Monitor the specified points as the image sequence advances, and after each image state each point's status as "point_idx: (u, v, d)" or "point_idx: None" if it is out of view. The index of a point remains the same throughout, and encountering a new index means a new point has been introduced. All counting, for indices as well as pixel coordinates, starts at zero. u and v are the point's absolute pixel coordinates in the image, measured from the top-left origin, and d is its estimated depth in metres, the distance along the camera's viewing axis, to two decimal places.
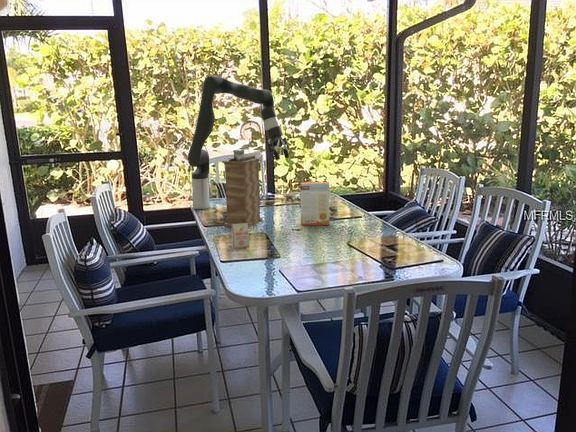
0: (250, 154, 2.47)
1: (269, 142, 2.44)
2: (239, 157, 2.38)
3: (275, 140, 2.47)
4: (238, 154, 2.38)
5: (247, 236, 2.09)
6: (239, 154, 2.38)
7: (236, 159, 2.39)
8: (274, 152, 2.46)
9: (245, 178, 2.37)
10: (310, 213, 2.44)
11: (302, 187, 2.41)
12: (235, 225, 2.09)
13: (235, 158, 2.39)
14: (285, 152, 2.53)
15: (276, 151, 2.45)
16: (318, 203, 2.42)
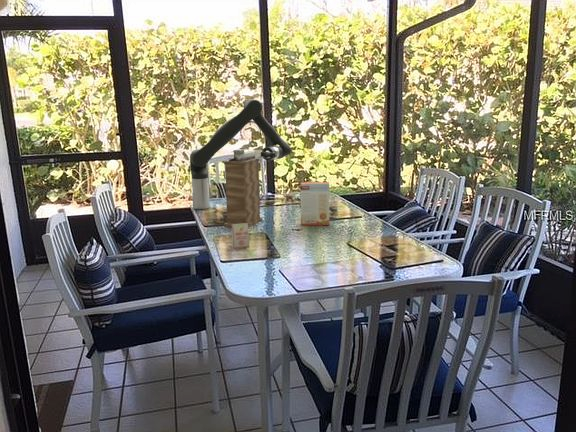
0: (250, 154, 2.47)
1: (276, 154, 2.74)
2: (239, 157, 2.38)
3: None
4: (238, 154, 2.38)
5: (247, 236, 2.09)
6: (239, 154, 2.38)
7: (236, 159, 2.39)
8: (269, 155, 2.70)
9: (245, 178, 2.37)
10: (310, 213, 2.44)
11: (302, 187, 2.41)
12: (235, 225, 2.09)
13: (235, 158, 2.39)
14: None
15: (269, 157, 2.70)
16: (318, 203, 2.42)
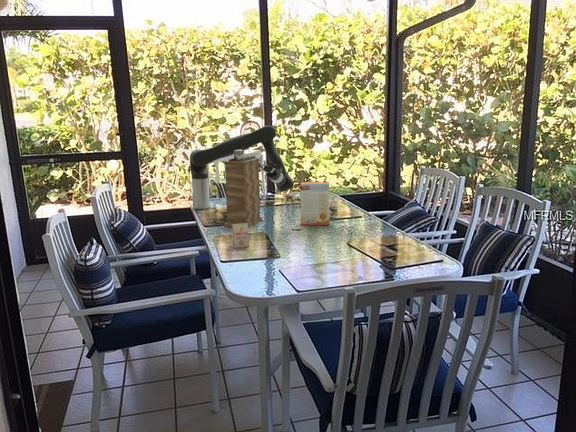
0: (250, 154, 2.47)
1: (281, 170, 2.71)
2: (239, 157, 2.38)
3: (274, 171, 2.73)
4: (238, 154, 2.38)
5: (247, 236, 2.09)
6: (239, 154, 2.38)
7: (236, 159, 2.39)
8: (275, 166, 2.67)
9: (245, 178, 2.37)
10: (310, 213, 2.44)
11: (302, 187, 2.41)
12: (235, 225, 2.09)
13: (235, 158, 2.39)
14: None
15: (274, 168, 2.67)
16: (318, 203, 2.42)
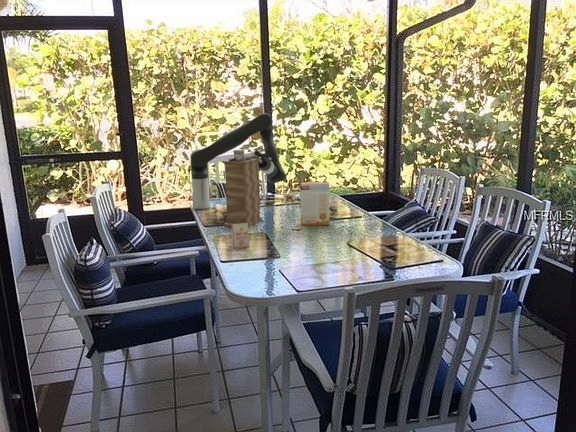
0: (250, 154, 2.47)
1: (269, 159, 2.58)
2: (239, 157, 2.38)
3: (264, 161, 2.60)
4: (238, 154, 2.38)
5: (247, 236, 2.09)
6: (239, 154, 2.38)
7: (236, 159, 2.39)
8: (260, 155, 2.55)
9: (245, 178, 2.37)
10: (310, 213, 2.44)
11: (302, 187, 2.41)
12: (235, 225, 2.09)
13: (235, 158, 2.39)
14: None
15: (259, 157, 2.55)
16: (318, 203, 2.42)
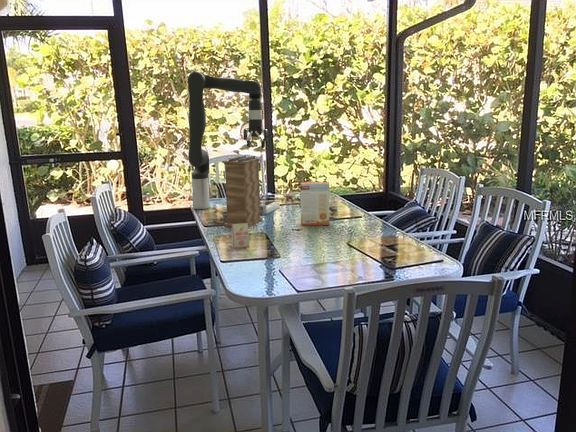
0: (271, 207, 2.76)
1: (266, 131, 2.75)
2: (262, 212, 2.67)
3: None
4: (261, 209, 2.66)
5: (247, 236, 2.09)
6: (262, 209, 2.66)
7: None
8: (264, 141, 2.77)
9: (245, 178, 2.37)
10: (310, 213, 2.44)
11: (302, 187, 2.41)
12: (235, 225, 2.09)
13: None
14: (249, 142, 2.80)
15: (264, 140, 2.78)
16: (318, 203, 2.42)
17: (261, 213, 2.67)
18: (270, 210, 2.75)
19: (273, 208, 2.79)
